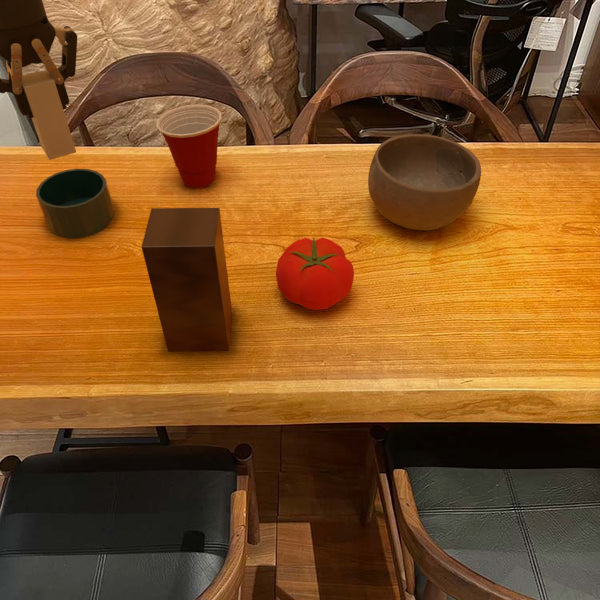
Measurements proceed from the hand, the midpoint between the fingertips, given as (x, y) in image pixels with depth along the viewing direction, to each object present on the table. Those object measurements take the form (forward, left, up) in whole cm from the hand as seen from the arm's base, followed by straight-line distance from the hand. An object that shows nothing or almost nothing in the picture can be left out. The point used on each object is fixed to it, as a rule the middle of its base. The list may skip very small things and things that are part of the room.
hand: (46, 111), depth 83 cm
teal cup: (0, 0, -19) cm, 19 cm away
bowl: (+48, -28, -19) cm, 59 cm away
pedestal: (+6, -33, -19) cm, 39 cm away
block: (0, 0, -6) cm, 6 cm away
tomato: (+23, -35, -19) cm, 46 cm away
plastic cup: (+21, 0, -19) cm, 28 cm away
